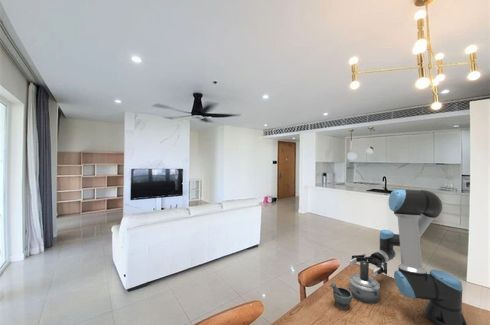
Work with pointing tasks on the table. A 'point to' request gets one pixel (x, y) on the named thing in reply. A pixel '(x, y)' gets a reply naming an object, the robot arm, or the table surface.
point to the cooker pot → (364, 292)
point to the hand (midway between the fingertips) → (361, 268)
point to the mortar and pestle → (341, 296)
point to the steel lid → (364, 276)
